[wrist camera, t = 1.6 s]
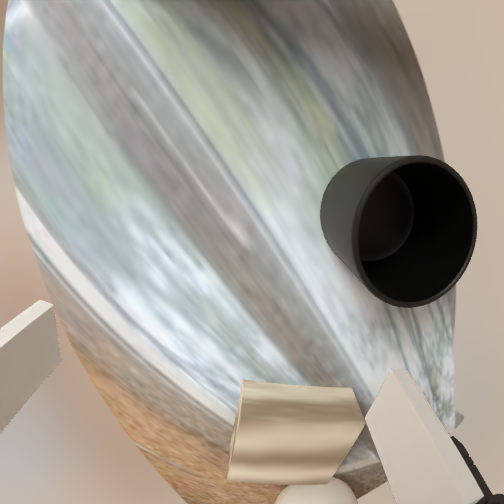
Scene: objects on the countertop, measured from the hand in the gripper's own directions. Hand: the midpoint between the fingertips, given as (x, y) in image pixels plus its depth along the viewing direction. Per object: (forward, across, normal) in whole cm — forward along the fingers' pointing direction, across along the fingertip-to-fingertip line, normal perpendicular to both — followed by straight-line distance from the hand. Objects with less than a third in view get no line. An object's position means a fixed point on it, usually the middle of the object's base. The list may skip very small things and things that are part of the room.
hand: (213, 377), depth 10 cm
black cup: (+16, +12, +7) cm, 21 cm away
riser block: (+16, +9, -19) cm, 27 cm away
